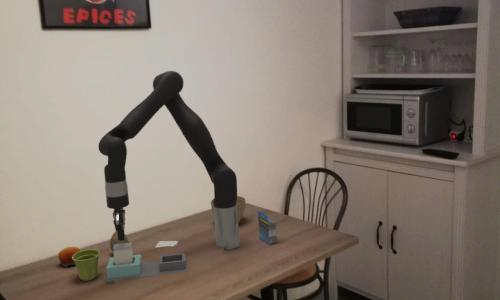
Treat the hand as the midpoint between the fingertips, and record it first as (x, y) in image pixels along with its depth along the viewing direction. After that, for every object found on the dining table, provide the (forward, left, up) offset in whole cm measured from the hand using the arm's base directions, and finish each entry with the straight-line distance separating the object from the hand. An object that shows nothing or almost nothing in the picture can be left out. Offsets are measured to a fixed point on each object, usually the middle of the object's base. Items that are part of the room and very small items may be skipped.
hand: (121, 239), depth 164 cm
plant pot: (+13, -1, -13) cm, 19 cm away
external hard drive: (-14, -19, -14) cm, 27 cm away
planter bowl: (-43, -43, -13) cm, 62 cm away
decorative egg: (+4, -20, -13) cm, 24 cm away
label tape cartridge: (-56, -17, -13) cm, 60 cm away
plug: (0, 0, -12) cm, 12 cm away
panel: (-8, 0, -13) cm, 15 cm away
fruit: (+22, -15, -13) cm, 30 cm away
